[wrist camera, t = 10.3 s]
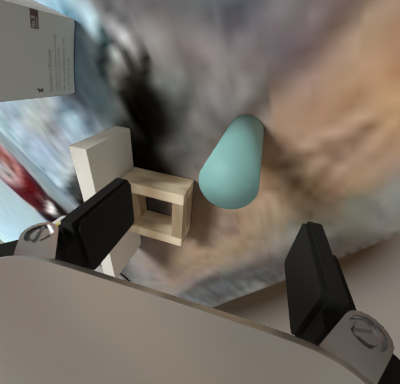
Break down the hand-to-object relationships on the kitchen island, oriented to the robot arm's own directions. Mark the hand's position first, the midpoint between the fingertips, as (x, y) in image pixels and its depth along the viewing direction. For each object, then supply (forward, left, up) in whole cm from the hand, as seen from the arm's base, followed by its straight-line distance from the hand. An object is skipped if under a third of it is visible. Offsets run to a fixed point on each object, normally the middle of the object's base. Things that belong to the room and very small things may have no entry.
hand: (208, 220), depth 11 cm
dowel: (0, 0, -16) cm, 15 cm away
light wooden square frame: (+10, +12, -15) cm, 22 cm away
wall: (+15, +13, -16) cm, 25 cm away
